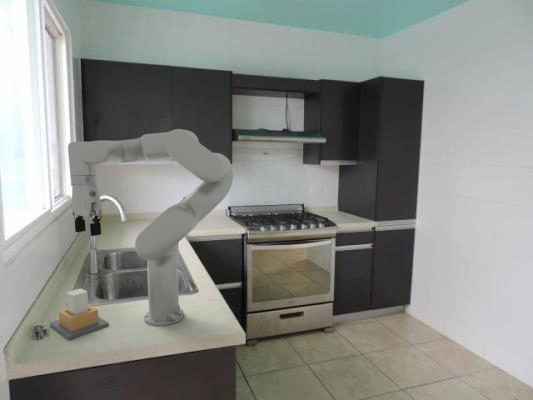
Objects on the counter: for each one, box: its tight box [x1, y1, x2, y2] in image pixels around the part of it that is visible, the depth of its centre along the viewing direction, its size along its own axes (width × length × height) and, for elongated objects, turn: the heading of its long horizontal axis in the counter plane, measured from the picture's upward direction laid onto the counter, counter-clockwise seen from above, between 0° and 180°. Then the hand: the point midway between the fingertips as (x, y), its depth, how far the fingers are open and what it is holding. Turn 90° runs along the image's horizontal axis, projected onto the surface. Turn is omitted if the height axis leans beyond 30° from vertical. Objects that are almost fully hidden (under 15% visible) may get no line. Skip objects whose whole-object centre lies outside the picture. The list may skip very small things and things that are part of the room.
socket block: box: [49, 303, 110, 341], centre depth 119 cm, size 14×12×5 cm
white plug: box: [66, 288, 89, 316], centre depth 119 cm, size 4×4×10 cm
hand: (88, 233), depth 123 cm, fingers open, 9 cm apart
